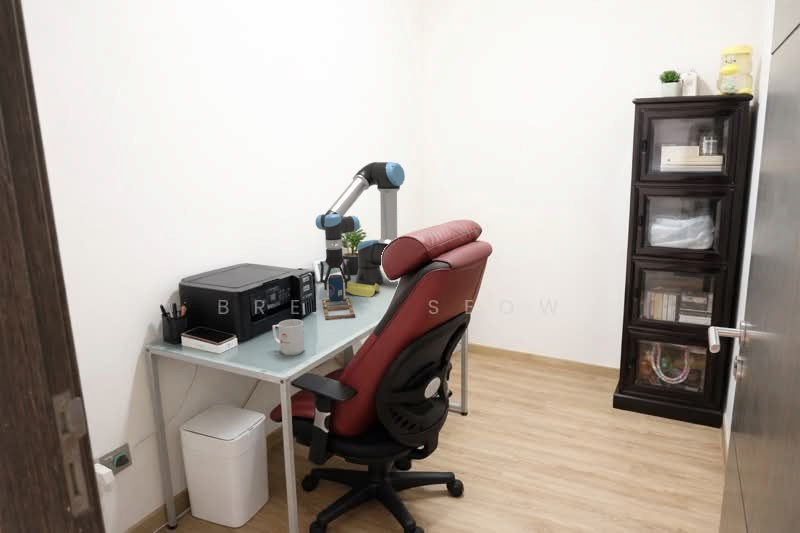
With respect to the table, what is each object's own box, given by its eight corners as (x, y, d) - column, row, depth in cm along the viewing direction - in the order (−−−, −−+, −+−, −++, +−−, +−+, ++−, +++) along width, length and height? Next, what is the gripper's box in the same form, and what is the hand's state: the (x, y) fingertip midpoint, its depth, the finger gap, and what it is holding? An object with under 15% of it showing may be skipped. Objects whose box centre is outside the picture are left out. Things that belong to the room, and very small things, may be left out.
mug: (309, 348, 206) (307, 320, 204) (297, 357, 198) (295, 328, 196) (281, 345, 210) (279, 317, 208) (268, 353, 202) (266, 325, 200)
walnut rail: (322, 301, 267) (322, 299, 267) (348, 299, 269) (348, 297, 269) (325, 320, 239) (325, 317, 239) (355, 317, 242) (355, 315, 241)
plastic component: (380, 286, 283) (375, 282, 274) (378, 300, 282) (373, 297, 273) (344, 282, 289) (338, 278, 279) (342, 295, 287) (335, 292, 278)
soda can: (326, 300, 261) (325, 275, 258) (338, 297, 265) (337, 273, 263) (334, 303, 256) (333, 278, 253) (346, 300, 260) (345, 275, 257)
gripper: (312, 250, 250) (315, 299, 255) (356, 248, 253) (358, 296, 258) (312, 247, 257) (314, 295, 262) (354, 245, 260) (356, 292, 265)
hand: (336, 295), depth 260 cm, fingers closed on soda can, 7 cm apart
